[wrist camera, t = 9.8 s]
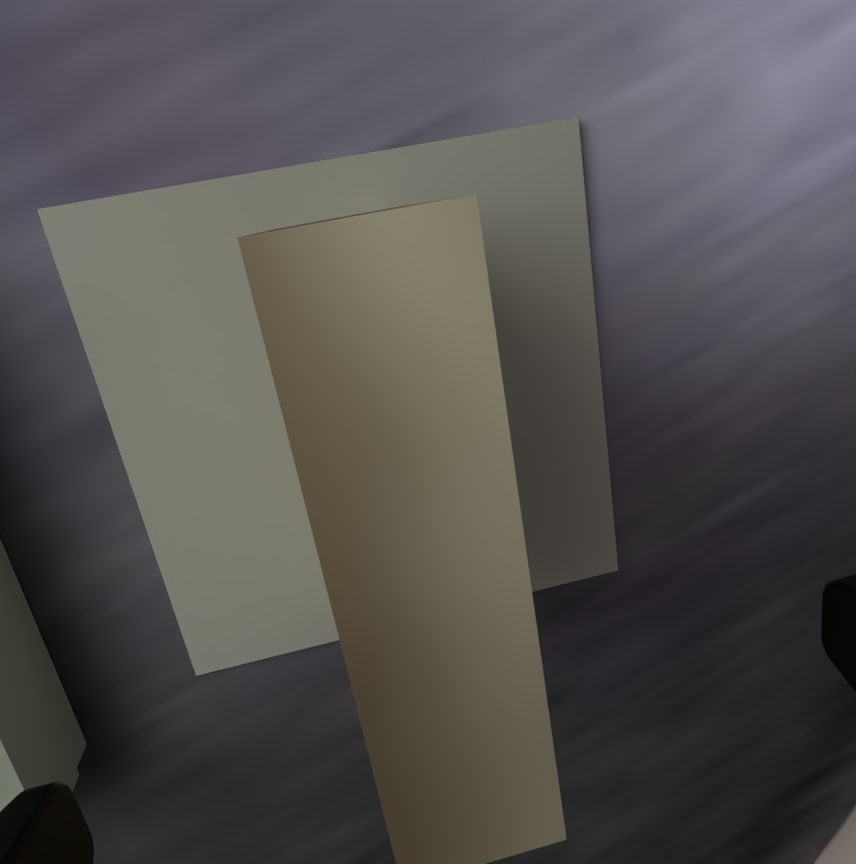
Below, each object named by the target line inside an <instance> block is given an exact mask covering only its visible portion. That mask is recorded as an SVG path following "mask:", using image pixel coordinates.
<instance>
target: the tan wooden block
mask: <svg viewBox="0 0 856 864" xmlns="http://www.w3.org/2000/svg"><path fill="white" fill-rule="evenodd" d="M237 238H238V242H239V246H240V250H241V254H242V258H243V262H244V266H245V270H246V274H247V277H248V281H249V285H250V289H251V293H252V297H253V301H254V305H255V309H256V313H257V317H258V321H259V325H260V329H261V333H262V337H263V341H264V344H265V348H266V352H267V356H268V360H269V364H270V368H271V372H272V376H273V380H274V384H275V388H276V392H277V396H278V400H279V404H280V408H281V411H282V415H283V419H284V423H285V427H286V431H287V435H288V439H289V443H290V447H291V451H292V455H293V459H294V463H295V467H296V471H297V475H298V479H299V482H300V486H301V490H302V494H303V498H304V502H305V506H306V510H307V514H308V518H309V522H310V526H311V530H312V534H313V538H314V542H315V546H316V549H317V553H318V557H319V561H320V565H321V569H322V573H323V577H324V581H325V585H326V589H327V593H328V597H329V601H330V605H331V609H332V613H333V616H334V620H335V624H336V628H337V632H338V636H339V640H340V644H341V648H342V652H343V656H344V660H345V664H346V668H347V672H348V676H349V680H350V684H351V687H352V691H353V695H354V699H355V703H356V707H357V711H358V715H359V719H360V723H361V727H362V731H363V735H364V739H365V743H366V747H367V751H368V754H369V758H370V762H371V766H372V770H373V774H374V778H375V782H376V786H377V790H378V794H379V798H380V802H381V806H382V810H383V814H384V818H385V821H386V825H387V829H388V833H389V837H390V841H391V845H392V849H393V853H394V857H395V861H396V864H485V863H489V862H492V861H495V860H499V859H502V858H506V857H509V856H512V855H516V854H519V853H523V852H526V851H529V850H533V849H536V848H540V847H543V846H546V845H550V844H553V843H556V842H560V841H563V840H567V839H566V832H565V825H564V818H563V811H562V803H561V796H560V789H559V782H558V775H557V767H556V760H555V753H554V746H553V739H552V732H551V724H550V717H549V710H548V703H547V696H546V688H545V681H544V674H543V667H542V660H541V653H540V645H539V638H538V631H537V624H536V617H535V609H534V602H533V595H532V588H531V581H530V574H529V566H528V559H527V552H526V545H525V538H524V530H523V523H522V516H521V509H520V502H519V495H518V487H517V480H516V473H515V466H514V459H513V451H512V444H511V437H510V430H509V423H508V416H507V408H506V401H505V394H504V387H503V380H502V372H501V365H500V358H499V351H498V344H497V337H496V329H495V322H494V315H493V308H492V301H491V293H490V286H489V279H488V272H487V265H486V258H485V250H484V243H483V236H482V229H481V222H480V214H479V207H478V200H477V194H474V195H468V196H462V197H456V198H450V199H443V200H437V201H431V202H425V203H419V204H413V205H407V206H401V207H395V208H389V209H383V210H377V211H372V212H366V213H361V214H355V215H350V216H344V217H339V218H333V219H328V220H322V221H317V222H311V223H306V224H300V225H295V226H289V227H284V228H278V229H273V230H269V231H264V232H260V233H255V234H251V235H246V236H242V237H237Z"/></svg>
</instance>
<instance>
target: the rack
mask: <svg viewBox="0 0 856 864" xmlns="http://www.w3.org/2000/svg"><path fill="white" fill-rule="evenodd" d="M86 745H87V743H86V741H85V738H84V736H83V734H82V731H81V729H80V726H79V724H78V722H77V719H76V717H75V715H74V712H73V710H72V708H71V705H70V703H69V700H68V698H67V696H66V693H65V691H64V689H63V686H62V684H61V681H60V679H59V677H58V674H57V672H56V670H55V667H54V665H53V662H52V660H51V658H50V655H49V653H48V651H47V648H46V646H45V644H44V641H43V639H42V636H41V634H40V632H39V629H38V627H37V625H36V622H35V620H34V617H33V615H32V613H31V610H30V608H29V606H28V603H27V601H26V598H25V596H24V594H23V591H22V589H21V587H20V584H19V582H18V580H17V577H16V575H15V572H14V570H13V568H12V565H11V563H10V561H9V558H8V556H7V553H6V551H5V549H4V546H3V544H2V542H1V539H0V811H1V810H2V809H3V808H4V807H5V806H6V805H7V804H8V803H10V802H11V801H12V800H13V799H14V798H15V797H16V796H17V795H18V794H19V793H21V792H22V791H24V790H26V789H29V788H33V787H37V786H40V785H44V784H48V783H52V782H56V781H61V782H65V783H66V784H67V785H68V786H69V787H70V789H71V790H72V792H73V789H74V787H75V784H76V782H77V779H78V777H79V772H78V769H77V766H78V764H79V762H80V759H81V757H82V755H83V752H84V750H85V747H86Z"/></svg>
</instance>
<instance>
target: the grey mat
mask: <svg viewBox="0 0 856 864" xmlns="http://www.w3.org/2000/svg"><path fill="white" fill-rule="evenodd" d="M474 194H477V200H478V207H479V214H480V222H481V229H482V236H483V243H484V250H485V258H486V265H487V272H488V279H489V286H490V293H491V301H492V308H493V315H494V322H495V329H496V337H497V344H498V351H499V358H500V365H501V372H502V380H503V387H504V394H505V401H506V408H507V416H508V423H509V430H510V437H511V444H512V451H513V459H514V466H515V473H516V480H517V487H518V495H519V502H520V509H521V516H522V523H523V530H524V538H525V545H526V552H527V559H528V566H529V574H530V581H531V588H532V592H533V591H537V590H541V589H545V588H549V587H553V586H557V585H561V584H565V583H569V582H573V581H577V580H581V579H585V578H589V577H593V576H597V575H601V574H605V573H609V572H613V571H617V570H618V560H617V549H616V537H615V526H614V515H613V503H612V492H611V481H610V469H609V458H608V447H607V435H606V424H605V413H604V401H603V390H602V379H601V367H600V356H599V345H598V333H597V322H596V311H595V299H594V288H593V277H592V265H591V254H590V243H589V231H588V220H587V209H586V197H585V186H584V175H583V163H582V152H581V141H580V129H579V118H578V117H577V118H571V119H565V120H559V121H553V122H547V123H541V124H536V125H530V126H524V127H518V128H512V129H506V130H500V131H494V132H489V133H483V134H477V135H471V136H465V137H459V138H453V139H447V140H441V141H436V142H430V143H424V144H418V145H412V146H406V147H400V148H394V149H389V150H383V151H377V152H371V153H365V154H359V155H353V156H347V157H341V158H336V159H330V160H324V161H318V162H312V163H306V164H300V165H294V166H288V167H283V168H277V169H271V170H265V171H259V172H253V173H247V174H241V175H236V176H230V177H224V178H218V179H212V180H206V181H200V182H194V183H188V184H183V185H177V186H171V187H165V188H159V189H153V190H147V191H141V192H136V193H130V194H124V195H118V196H112V197H106V198H100V199H94V200H88V201H83V202H77V203H71V204H65V205H59V206H53V207H47V208H41V209H37V210H38V213H39V216H40V219H41V222H42V225H43V228H44V231H45V234H46V237H47V240H48V243H49V246H50V249H51V251H52V254H53V257H54V260H55V263H56V266H57V269H58V272H59V275H60V278H61V281H62V284H63V287H64V290H65V292H66V295H67V298H68V301H69V304H70V307H71V310H72V313H73V316H74V319H75V322H76V325H77V328H78V331H79V334H80V336H81V339H82V342H83V345H84V348H85V351H86V354H87V357H88V360H89V363H90V366H91V369H92V372H93V375H94V378H95V380H96V383H97V386H98V389H99V392H100V395H101V398H102V401H103V404H104V407H105V410H106V413H107V416H108V419H109V422H110V424H111V427H112V430H113V433H114V436H115V439H116V442H117V445H118V448H119V451H120V454H121V457H122V460H123V463H124V466H125V468H126V471H127V474H128V477H129V480H130V483H131V486H132V489H133V492H134V495H135V498H136V501H137V504H138V507H139V510H140V512H141V515H142V518H143V521H144V524H145V527H146V530H147V533H148V536H149V539H150V542H151V545H152V548H153V551H154V553H155V556H156V559H157V562H158V565H159V568H160V571H161V574H162V577H163V580H164V583H165V586H166V589H167V592H168V595H169V597H170V600H171V603H172V606H173V609H174V612H175V615H176V618H177V621H178V624H179V627H180V630H181V633H182V636H183V639H184V641H185V644H186V647H187V650H188V653H189V656H190V659H191V662H192V665H193V668H194V671H195V674H196V676H197V675H201V674H205V673H209V672H213V671H217V670H221V669H225V668H229V667H233V666H237V665H241V664H245V663H249V662H253V661H257V660H261V659H265V658H269V657H273V656H277V655H281V654H285V653H289V652H293V651H297V650H301V649H305V648H309V647H313V646H317V645H321V644H325V643H329V642H333V641H337V640H339V636H338V632H337V628H336V624H335V620H334V616H333V613H332V609H331V605H330V601H329V597H328V593H327V589H326V585H325V581H324V577H323V573H322V569H321V565H320V561H319V557H318V553H317V549H316V546H315V542H314V538H313V534H312V530H311V526H310V522H309V518H308V514H307V510H306V506H305V502H304V498H303V494H302V490H301V486H300V482H299V479H298V475H297V471H296V467H295V463H294V459H293V455H292V451H291V447H290V443H289V439H288V435H287V431H286V427H285V423H284V419H283V415H282V411H281V408H280V404H279V400H278V396H277V392H276V388H275V384H274V380H273V376H272V372H271V368H270V364H269V360H268V356H267V352H266V348H265V344H264V341H263V337H262V333H261V329H260V325H259V321H258V317H257V313H256V309H255V305H254V301H253V297H252V293H251V289H250V285H249V281H248V277H247V274H246V270H245V266H244V262H243V258H242V254H241V250H240V246H239V242H238V238H237V237H242V236H246V235H251V234H255V233H260V232H264V231H269V230H273V229H278V228H284V227H289V226H295V225H300V224H306V223H311V222H317V221H322V220H328V219H333V218H339V217H344V216H350V215H355V214H361V213H366V212H372V211H377V210H383V209H389V208H395V207H401V206H407V205H413V204H419V203H425V202H431V201H437V200H443V199H450V198H456V197H462V196H468V195H474Z"/></svg>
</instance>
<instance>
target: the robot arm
mask: <svg viewBox="0 0 856 864" xmlns="http://www.w3.org/2000/svg"><path fill="white" fill-rule="evenodd" d="M821 636H822V642H823V646H824V649H825V651H826V653H827V655H828V657H829V658H830V660H831V661H832V662H833V664H834V665H835V666H836V667H837V669H838V670H839V671H840V672H841V674H842V675H843V676H844V677H845V679H846V680H847V681H848V683H849V684H850V685H851V686H852V688H853V689H854V690H855V691H856V574H855V575H851V576H847V577H843V578H839V579H835V580H832V581H830V582H828V583H827V584H826V585H825V587H824V589H823V598H822V633H821ZM93 857H94V847H93V840H92V836H91V833H90V830H89V828H88V826H87V823H86V821H85V819H84V817H83V815H82V812H81V810H80V808H79V806H78V803H77V801H76V799H75V797H74V794H73V792H72V790H71V789H70V787H69V786H68V785H67V784H66V783H65V782H61V781H56V782H52V783H48V784H44V785H40V786H37V787H33V788H29V789H26V790H24V791H22V792H21V793H19V794H18V795H17V796H16V797H15V798H14V799H13V800H12V801H11V802H10V803H8V804H7V805H6V806H5V807H4V808H3V809H2V810H1V811H0V864H93Z"/></svg>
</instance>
